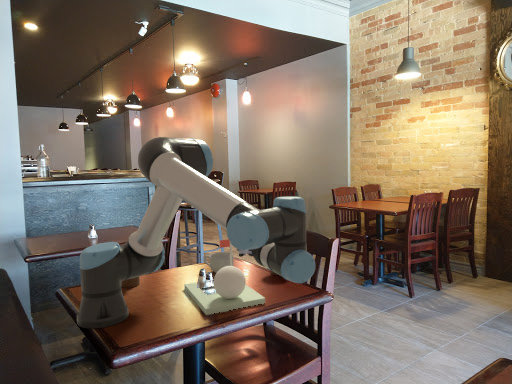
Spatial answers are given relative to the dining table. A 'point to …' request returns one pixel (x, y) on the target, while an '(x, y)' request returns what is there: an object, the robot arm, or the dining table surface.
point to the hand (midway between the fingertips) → (238, 239)
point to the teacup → (218, 260)
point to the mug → (130, 282)
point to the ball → (229, 282)
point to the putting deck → (218, 303)
